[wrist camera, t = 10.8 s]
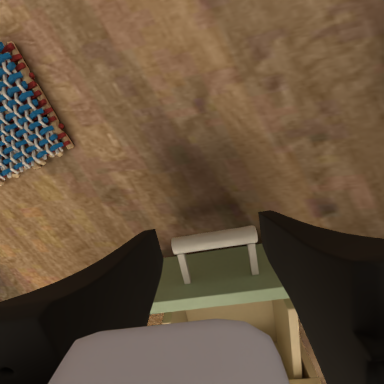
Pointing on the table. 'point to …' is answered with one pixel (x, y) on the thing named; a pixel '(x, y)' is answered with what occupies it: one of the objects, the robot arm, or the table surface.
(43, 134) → the woven mat
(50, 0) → the table surface
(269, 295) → the drawer
